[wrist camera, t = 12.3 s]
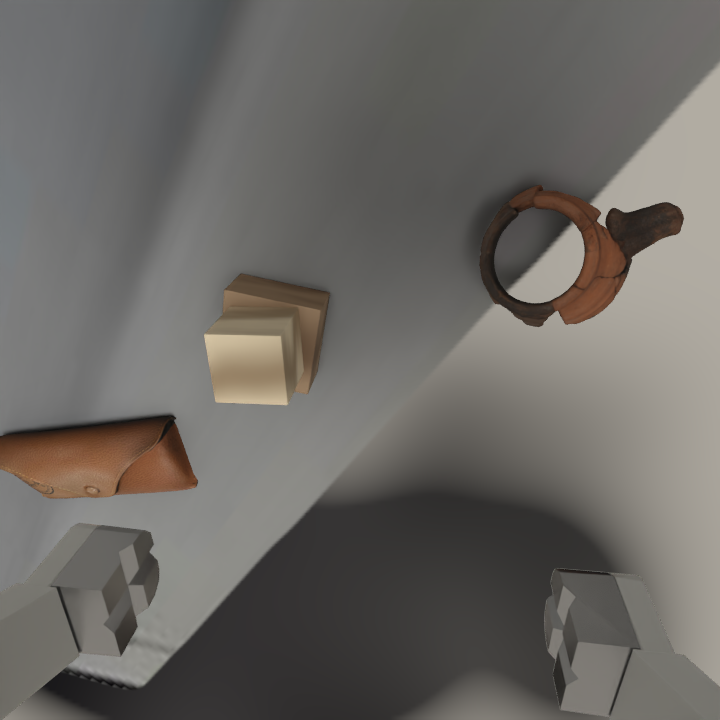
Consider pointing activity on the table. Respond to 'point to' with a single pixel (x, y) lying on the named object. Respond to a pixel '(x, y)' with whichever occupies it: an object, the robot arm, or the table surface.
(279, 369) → the beech block
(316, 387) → the table surface
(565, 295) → the brown piece
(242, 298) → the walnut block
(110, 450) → the sunglasses case
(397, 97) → the table surface
